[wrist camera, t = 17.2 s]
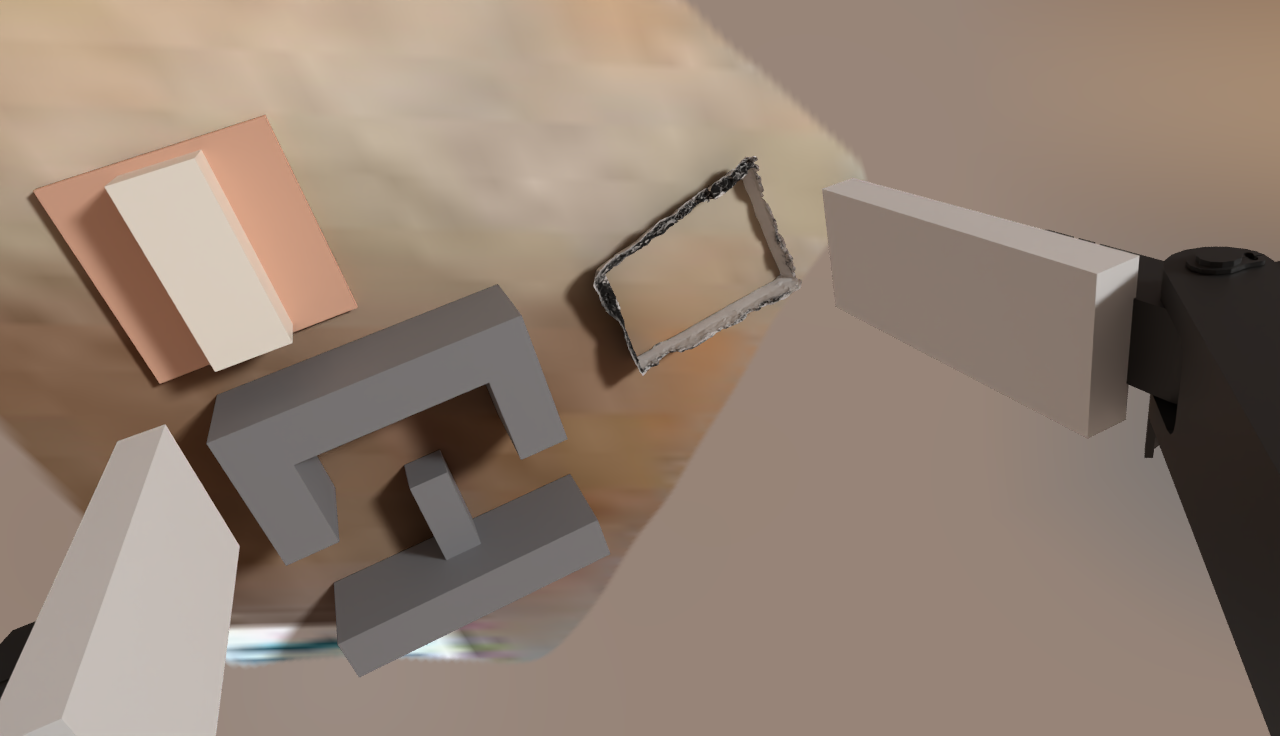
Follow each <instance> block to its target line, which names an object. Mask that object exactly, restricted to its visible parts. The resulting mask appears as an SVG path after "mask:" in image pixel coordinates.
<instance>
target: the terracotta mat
mask: <svg viewBox="0 0 1280 736" xmlns="http://www.w3.org/2000/svg"><path fill="white" fill-rule="evenodd" d="M198 150H202V152H203V154H204V155H205V157H206V159H207V161H208V163H209V165H210V167H211V169H212V171H213V173H214V175H215V176H216V178H217V180H218V182H219V184H220V186H221V188H222V190H223V192H224V194H225V196H226V197H227V199H228V201H229V203H230V205H231V207H232V209H233V211H234V213H235V215H236V217H237V219H238V220H239V222H240V224H241V226H242V228H243V230H244V232H245V234H246V236H247V238H248V240H249V241H250V243H251V245H252V247H253V249H254V251H255V253H256V255H257V257H258V259H259V261H260V262H261V264H262V266H263V268H264V270H265V272H266V274H267V276H268V278H269V280H270V282H271V283H272V285H273V287H274V289H275V291H276V293H277V295H278V297H279V299H280V301H281V303H282V304H283V306H284V308H285V310H286V312H287V314H288V316H289V318H290V320H291V322H292V324H293V332H296V331H298V330H301V329H303V328H306V327H309V326H311V325H314V324H316V323H319V322H321V321H324V320H327V319H329V318H332V317H334V316H337V315H340V314H342V313H345V312H347V311H350V310H353V309H355V308H358V307H357V303H356V301H355V299H354V297H353V295H352V293H351V291H350V289H349V287H348V285H347V283H346V281H345V279H344V277H343V275H342V272H341V270H340V268H339V266H338V264H337V262H336V260H335V258H334V256H333V254H332V252H331V250H330V248H329V246H328V244H327V241H326V239H325V237H324V235H323V233H322V231H321V229H320V227H319V225H318V223H317V221H316V219H315V217H314V215H313V213H312V210H311V208H310V206H309V204H308V202H307V200H306V198H305V196H304V194H303V192H302V190H301V188H300V186H299V184H298V182H297V180H296V177H295V175H294V173H293V171H292V169H291V167H290V165H289V163H288V161H287V159H286V157H285V155H284V153H283V151H282V149H281V146H280V144H279V142H278V140H277V138H276V136H275V134H274V132H273V130H272V128H271V126H270V124H269V122H268V120H267V118H266V115H263V116H260V117H257V118H254V119H251V120H248V121H245V122H242V123H238V124H235V125H232V126H229V127H226V128H223V129H220V130H217V131H214V132H211V133H207V134H204V135H201V136H198V137H195V138H192V139H189V140H186V141H183V142H179V143H176V144H173V145H170V146H167V147H164V148H161V149H158V150H155V151H152V152H148V153H145V154H142V155H139V156H136V157H133V158H130V159H127V160H124V161H121V162H117V163H114V164H111V165H108V166H105V167H102V168H99V169H96V170H93V171H90V172H86V173H83V174H80V175H77V176H74V177H71V178H68V179H65V180H62V181H58V182H55V183H52V184H49V185H46V186H43V187H40V188H37V189H35V190H33V192H34V193H35V195H36V196H37V198H38V199H39V201H40V202H41V204H42V206H43V207H44V209H45V210H46V212H47V213H48V215H49V216H50V218H51V219H52V221H53V222H54V224H55V225H56V227H57V228H58V230H59V231H60V233H61V234H62V236H63V237H64V239H65V240H66V242H67V243H68V245H69V247H70V248H71V250H72V251H73V253H74V254H75V256H76V257H77V259H78V260H79V262H80V263H81V265H82V266H83V268H84V269H85V271H86V272H87V274H88V275H89V277H90V278H91V280H92V281H93V283H94V285H95V286H96V288H97V289H98V291H99V292H100V294H101V295H102V297H103V298H104V300H105V301H106V303H107V304H108V306H109V307H110V309H111V310H112V312H113V313H114V315H115V316H116V318H117V319H118V321H119V322H120V324H121V326H122V327H123V329H124V330H125V332H126V333H127V335H128V336H129V338H130V339H131V341H132V342H133V344H134V345H135V347H136V348H137V350H138V351H139V353H140V354H141V356H142V357H143V359H144V360H145V362H146V363H147V365H148V367H149V368H150V370H151V371H152V373H153V374H154V376H155V377H156V379H157V380H158V382H159V383H160V384H161V383H163V382H166V381H169V380H171V379H174V378H176V377H179V376H181V375H184V374H187V373H189V372H192V371H194V370H197V369H200V368H202V367H205V366H207V365H210V363H209V361H208V359H207V358H206V356H205V354H204V353H203V351H202V349H201V348H200V346H199V344H198V343H197V341H196V339H195V338H194V336H193V334H192V333H191V331H190V329H189V328H188V326H187V324H186V323H185V321H184V319H183V318H182V316H181V314H180V313H179V311H178V309H177V307H176V306H175V304H174V302H173V301H172V299H171V297H170V296H169V294H168V292H167V291H166V289H165V287H164V286H163V284H162V282H161V281H160V279H159V277H158V276H157V274H156V272H155V271H154V269H153V267H152V266H151V264H150V262H149V261H148V259H147V257H146V256H145V254H144V252H143V251H142V249H141V247H140V246H139V244H138V242H137V241H136V239H135V237H134V236H133V234H132V232H131V231H130V229H129V227H128V226H127V224H126V222H125V221H124V219H123V217H122V216H121V214H120V212H119V211H118V209H117V207H116V205H115V204H114V202H113V200H112V199H111V197H110V195H109V194H108V192H107V190H106V189H105V186H106V185H107V184H108V183H109V182H111V181H112V180H113V179H114V178H115V177H117V176H118V175H122V174H125V173H128V172H131V171H134V170H137V169H141V168H144V167H147V166H150V165H153V164H156V163H160V162H163V161H166V160H169V159H172V158H175V157H179V156H182V155H185V154H188V153H191V152H194V151H198Z"/></svg>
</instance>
